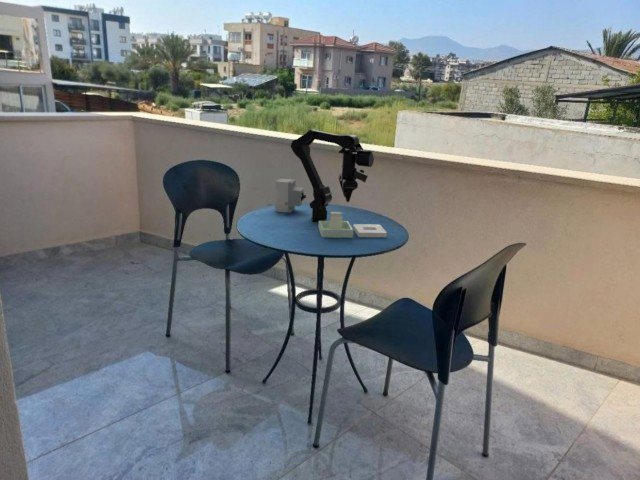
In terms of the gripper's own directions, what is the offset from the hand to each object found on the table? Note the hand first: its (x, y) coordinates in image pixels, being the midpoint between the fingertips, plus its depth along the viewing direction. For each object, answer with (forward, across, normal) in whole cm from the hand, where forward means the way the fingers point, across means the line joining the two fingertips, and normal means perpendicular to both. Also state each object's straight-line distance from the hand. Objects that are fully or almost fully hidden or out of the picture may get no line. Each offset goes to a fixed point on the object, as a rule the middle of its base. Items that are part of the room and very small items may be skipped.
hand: (346, 199), depth 196 cm
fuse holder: (+12, -11, -10) cm, 19 cm away
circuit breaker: (+12, +22, +24) cm, 35 cm away
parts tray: (+12, -12, +6) cm, 18 cm away
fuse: (+11, -12, +6) cm, 17 cm away
